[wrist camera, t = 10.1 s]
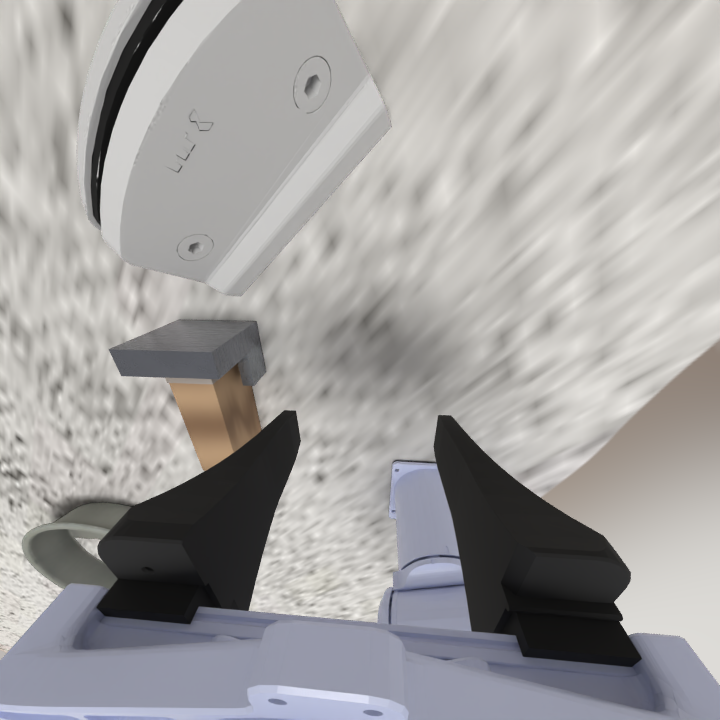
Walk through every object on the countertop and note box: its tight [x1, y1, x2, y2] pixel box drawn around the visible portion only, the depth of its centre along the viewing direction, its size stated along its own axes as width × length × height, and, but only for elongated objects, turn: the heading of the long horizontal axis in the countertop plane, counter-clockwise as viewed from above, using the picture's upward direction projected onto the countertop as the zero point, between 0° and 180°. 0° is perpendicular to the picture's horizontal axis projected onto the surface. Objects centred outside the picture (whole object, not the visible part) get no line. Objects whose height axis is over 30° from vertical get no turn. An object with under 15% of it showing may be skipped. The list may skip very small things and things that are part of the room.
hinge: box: [77, 0, 392, 296], centre depth 14 cm, size 17×5×10 cm, turn 132°
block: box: [166, 363, 262, 470], centre depth 23 cm, size 10×4×5 cm, turn 0°
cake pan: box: [22, 503, 131, 590], centre depth 39 cm, size 25×25×4 cm
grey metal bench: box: [109, 320, 266, 386], centre depth 20 cm, size 5×7×6 cm
